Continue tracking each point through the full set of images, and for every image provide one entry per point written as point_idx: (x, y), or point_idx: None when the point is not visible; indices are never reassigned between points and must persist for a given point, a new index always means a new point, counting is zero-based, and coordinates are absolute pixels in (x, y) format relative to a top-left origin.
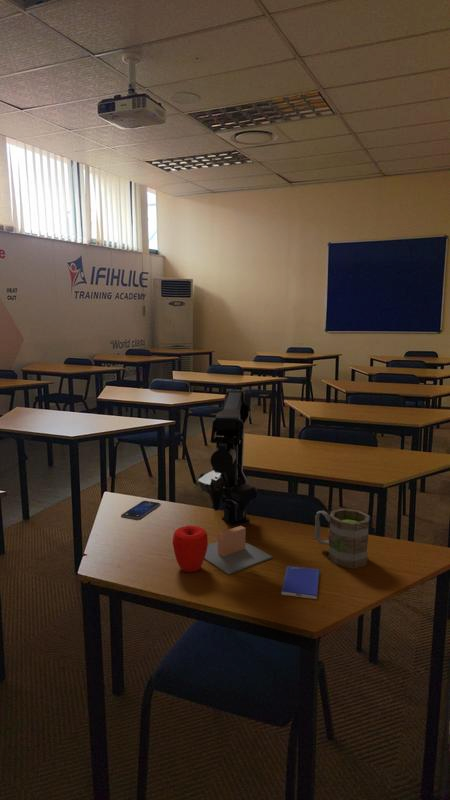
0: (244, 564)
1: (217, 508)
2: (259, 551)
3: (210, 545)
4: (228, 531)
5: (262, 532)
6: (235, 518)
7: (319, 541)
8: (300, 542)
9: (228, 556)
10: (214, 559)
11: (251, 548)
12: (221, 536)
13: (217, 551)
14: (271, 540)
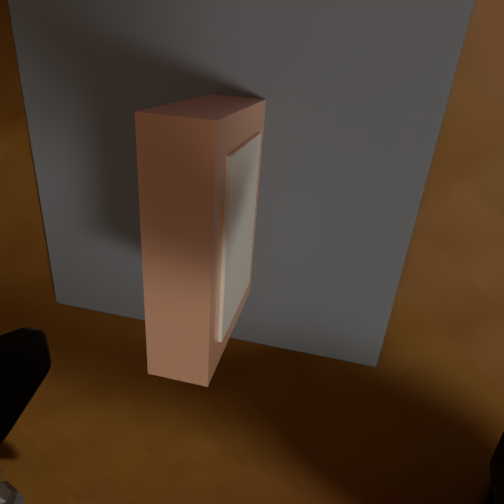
0: (51, 126)
1: (502, 476)
2: (133, 305)
3: (411, 159)
4: (178, 230)
5: (302, 476)
6: (18, 342)
7: (5, 490)
8: (117, 473)
9: None
10: (215, 10)
11: None
12: (162, 112)
13: (297, 126)
14: (206, 432)
